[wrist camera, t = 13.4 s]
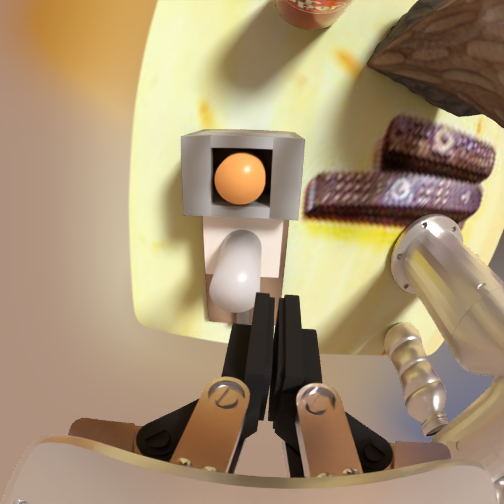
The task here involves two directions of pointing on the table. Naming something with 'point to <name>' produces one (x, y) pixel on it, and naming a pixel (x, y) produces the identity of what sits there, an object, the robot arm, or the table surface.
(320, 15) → the soda can
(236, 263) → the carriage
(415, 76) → the brown rock
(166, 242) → the table surface
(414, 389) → the plastic bottle
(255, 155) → the button
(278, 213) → the rail base
